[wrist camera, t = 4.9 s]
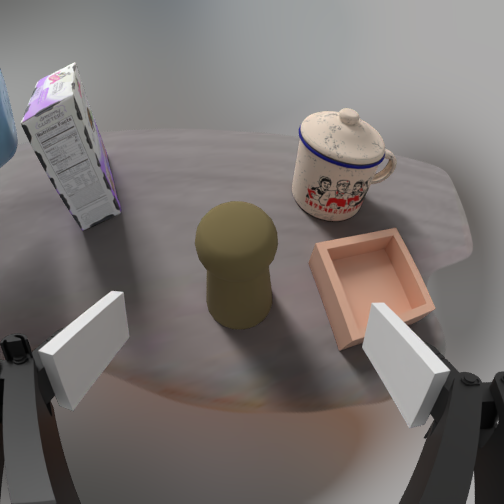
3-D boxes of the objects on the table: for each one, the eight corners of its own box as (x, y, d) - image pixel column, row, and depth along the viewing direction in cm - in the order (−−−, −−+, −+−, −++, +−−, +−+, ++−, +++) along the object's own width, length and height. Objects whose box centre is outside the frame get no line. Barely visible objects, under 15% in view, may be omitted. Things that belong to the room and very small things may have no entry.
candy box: (75, 169, 36) (36, 80, 22) (108, 153, 37) (77, 59, 23) (81, 233, 30) (16, 123, 16) (123, 213, 31) (73, 91, 17)
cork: (283, 285, 27) (302, 207, 17) (253, 341, 24) (259, 288, 14) (226, 259, 28) (218, 176, 19) (194, 310, 25) (164, 242, 16)
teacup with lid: (296, 225, 30) (315, 136, 20) (284, 169, 35) (294, 88, 25) (391, 223, 31) (433, 149, 21) (369, 171, 36) (395, 100, 26)
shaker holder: (339, 350, 23) (352, 340, 20) (308, 262, 28) (315, 243, 25) (417, 321, 24) (435, 308, 22) (383, 246, 29) (395, 227, 26)
